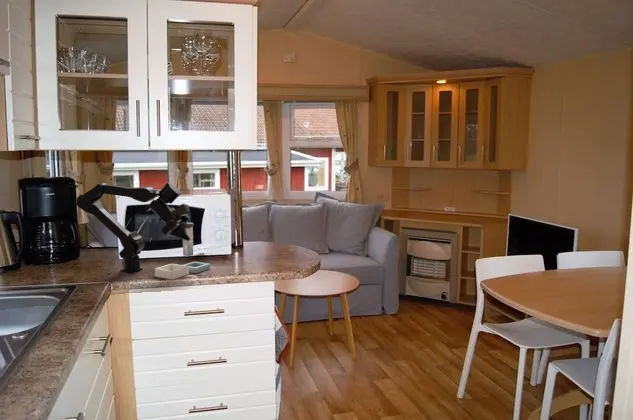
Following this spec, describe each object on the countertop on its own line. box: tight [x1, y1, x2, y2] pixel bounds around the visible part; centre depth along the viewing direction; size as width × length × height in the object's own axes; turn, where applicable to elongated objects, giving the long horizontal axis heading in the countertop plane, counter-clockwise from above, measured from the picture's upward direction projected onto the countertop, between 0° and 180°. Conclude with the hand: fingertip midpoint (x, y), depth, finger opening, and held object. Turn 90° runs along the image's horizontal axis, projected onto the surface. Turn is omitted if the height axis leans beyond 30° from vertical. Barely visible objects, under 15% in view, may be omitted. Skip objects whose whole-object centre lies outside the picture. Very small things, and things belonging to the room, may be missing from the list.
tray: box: [154, 263, 190, 280], centre depth 205 cm, size 10×10×3 cm
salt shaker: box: [182, 221, 194, 257], centre depth 208 cm, size 5×5×13 cm
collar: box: [183, 261, 211, 274], centre depth 213 cm, size 9×9×2 cm
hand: (191, 239), depth 208 cm, fingers closed on salt shaker, 4 cm apart
